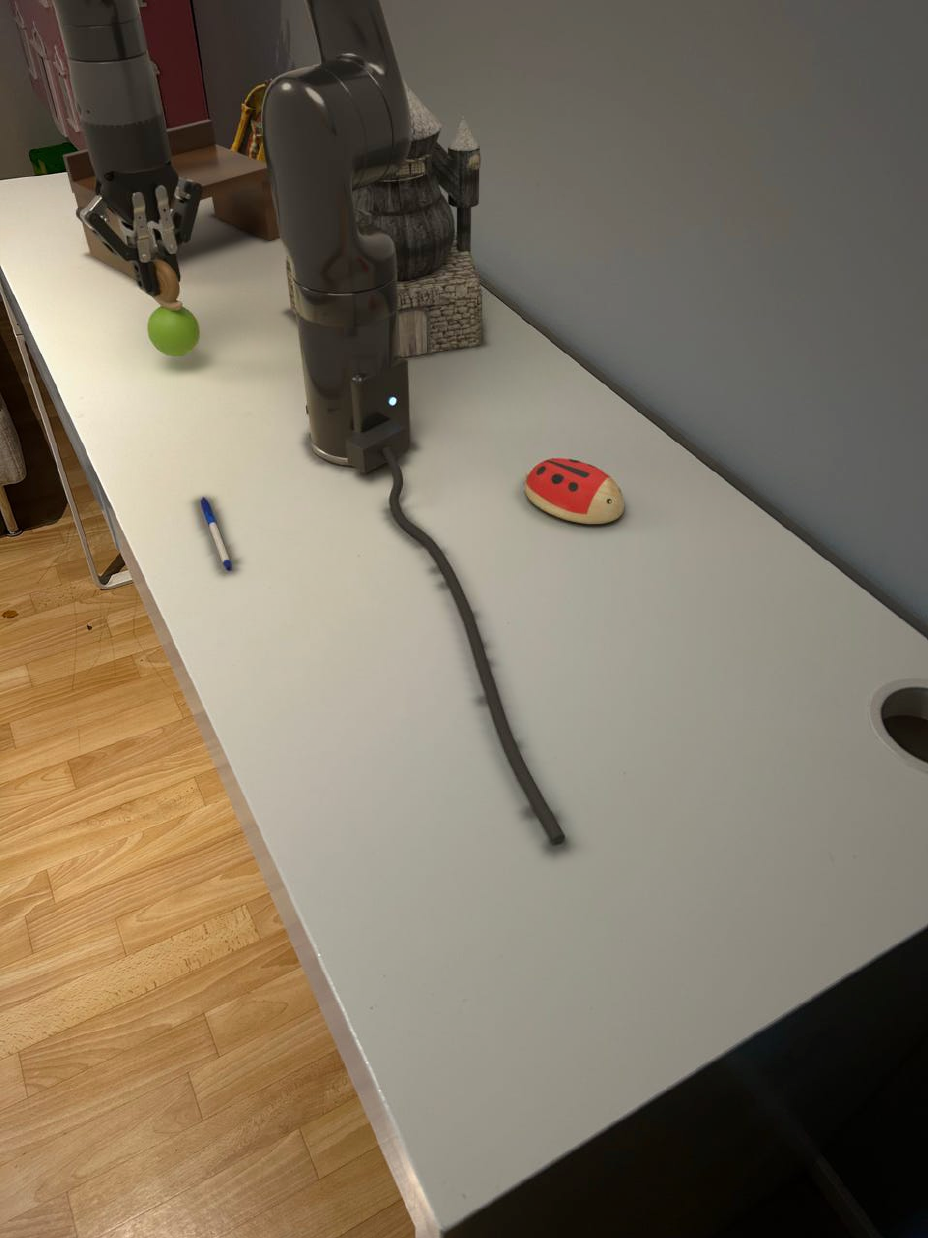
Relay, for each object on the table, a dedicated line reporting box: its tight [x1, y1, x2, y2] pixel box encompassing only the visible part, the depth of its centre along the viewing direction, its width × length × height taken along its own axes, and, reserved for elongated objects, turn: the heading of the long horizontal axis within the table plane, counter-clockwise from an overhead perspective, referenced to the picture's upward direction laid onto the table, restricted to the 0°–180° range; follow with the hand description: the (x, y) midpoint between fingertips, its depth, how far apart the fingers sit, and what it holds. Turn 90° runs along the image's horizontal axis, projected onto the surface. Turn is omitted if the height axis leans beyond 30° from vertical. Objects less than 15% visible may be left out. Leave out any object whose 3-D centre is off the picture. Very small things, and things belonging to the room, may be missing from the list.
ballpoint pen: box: [200, 496, 232, 571], centre depth 82 cm, size 10×1×1 cm, turn 24°
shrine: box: [230, 78, 274, 163], centre depth 141 cm, size 12×8×15 cm
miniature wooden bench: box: [62, 119, 280, 281], centre depth 125 cm, size 14×22×13 cm, turn 136°
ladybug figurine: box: [524, 457, 625, 525], centre depth 85 cm, size 7×10×4 cm
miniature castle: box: [285, 78, 483, 358], centre depth 102 cm, size 22×16×30 cm
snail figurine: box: [146, 259, 201, 357], centre depth 99 cm, size 5×6×12 cm
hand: (161, 290), depth 98 cm, fingers closed on snail figurine
